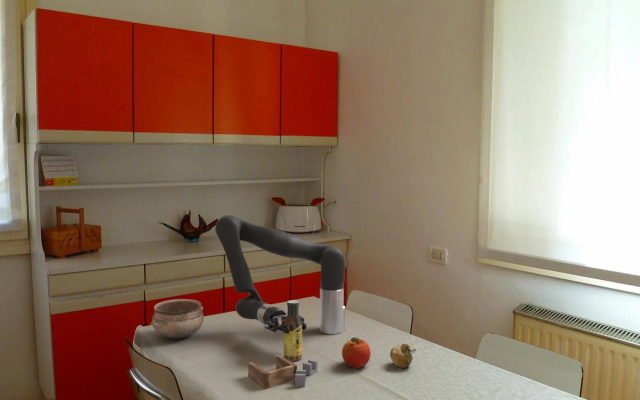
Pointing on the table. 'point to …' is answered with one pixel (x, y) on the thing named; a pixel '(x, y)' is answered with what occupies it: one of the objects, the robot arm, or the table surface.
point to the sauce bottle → (293, 333)
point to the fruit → (356, 353)
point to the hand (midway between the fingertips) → (297, 328)
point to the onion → (402, 355)
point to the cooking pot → (177, 318)
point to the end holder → (273, 373)
